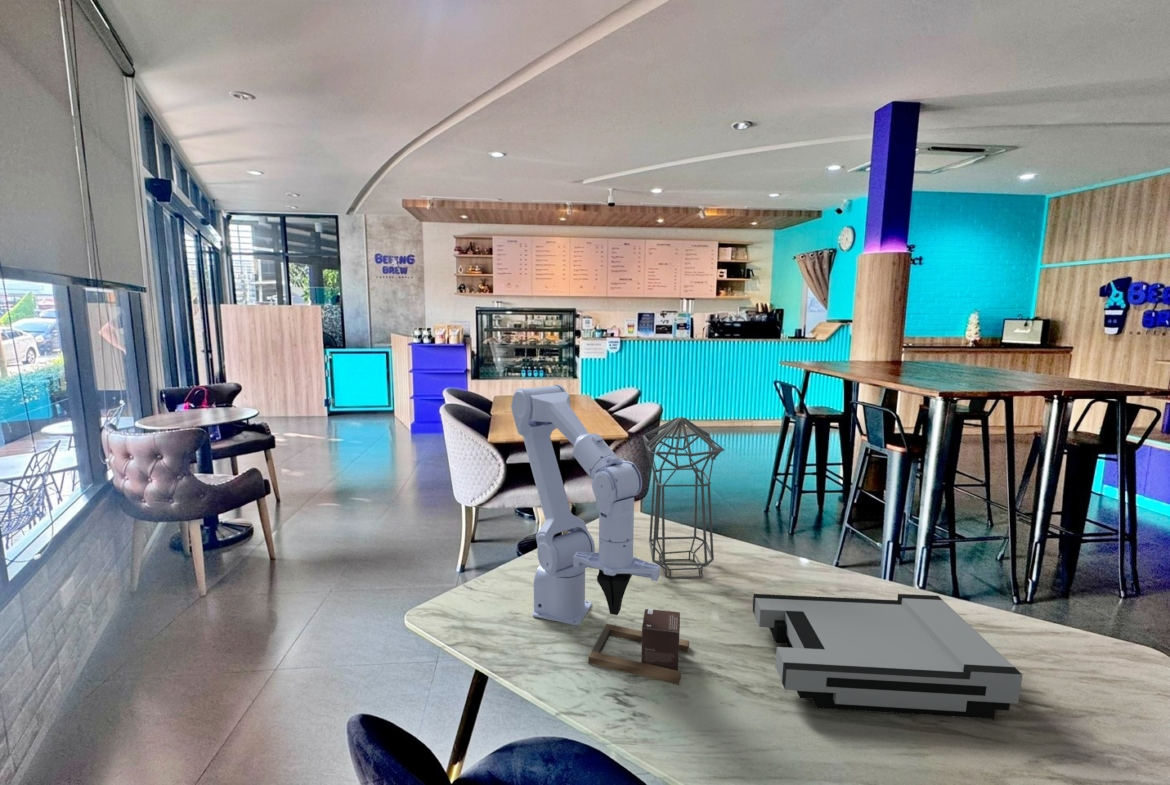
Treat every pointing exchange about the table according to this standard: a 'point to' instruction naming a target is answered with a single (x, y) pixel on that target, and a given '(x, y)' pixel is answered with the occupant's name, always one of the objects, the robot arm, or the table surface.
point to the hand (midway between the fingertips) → (615, 611)
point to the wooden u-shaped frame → (629, 665)
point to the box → (660, 638)
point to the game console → (886, 656)
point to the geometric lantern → (715, 451)
